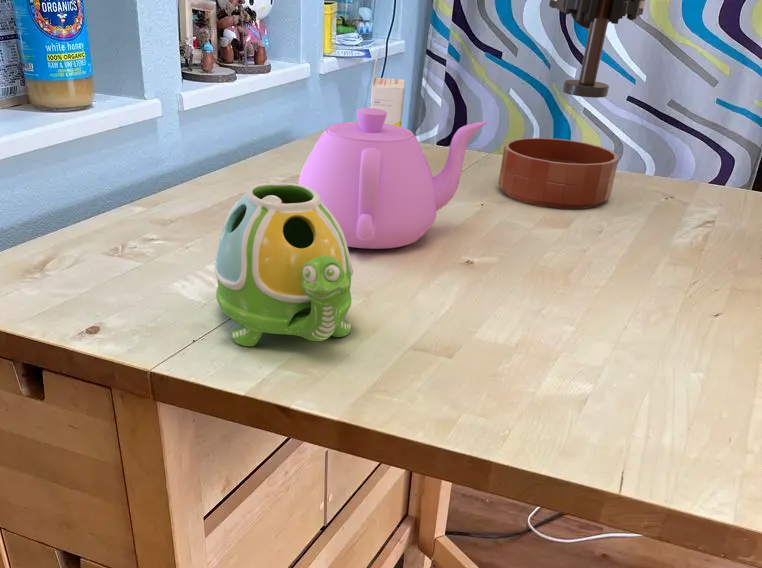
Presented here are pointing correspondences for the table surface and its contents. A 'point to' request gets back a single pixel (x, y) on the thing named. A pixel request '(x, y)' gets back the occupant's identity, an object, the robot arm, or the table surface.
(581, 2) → the robot arm
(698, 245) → the table surface
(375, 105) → the ink cartridge box
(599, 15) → the peg on round base
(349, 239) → the teapot
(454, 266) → the table surface
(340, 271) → the turtle holder
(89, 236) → the table surface
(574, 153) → the bowl
